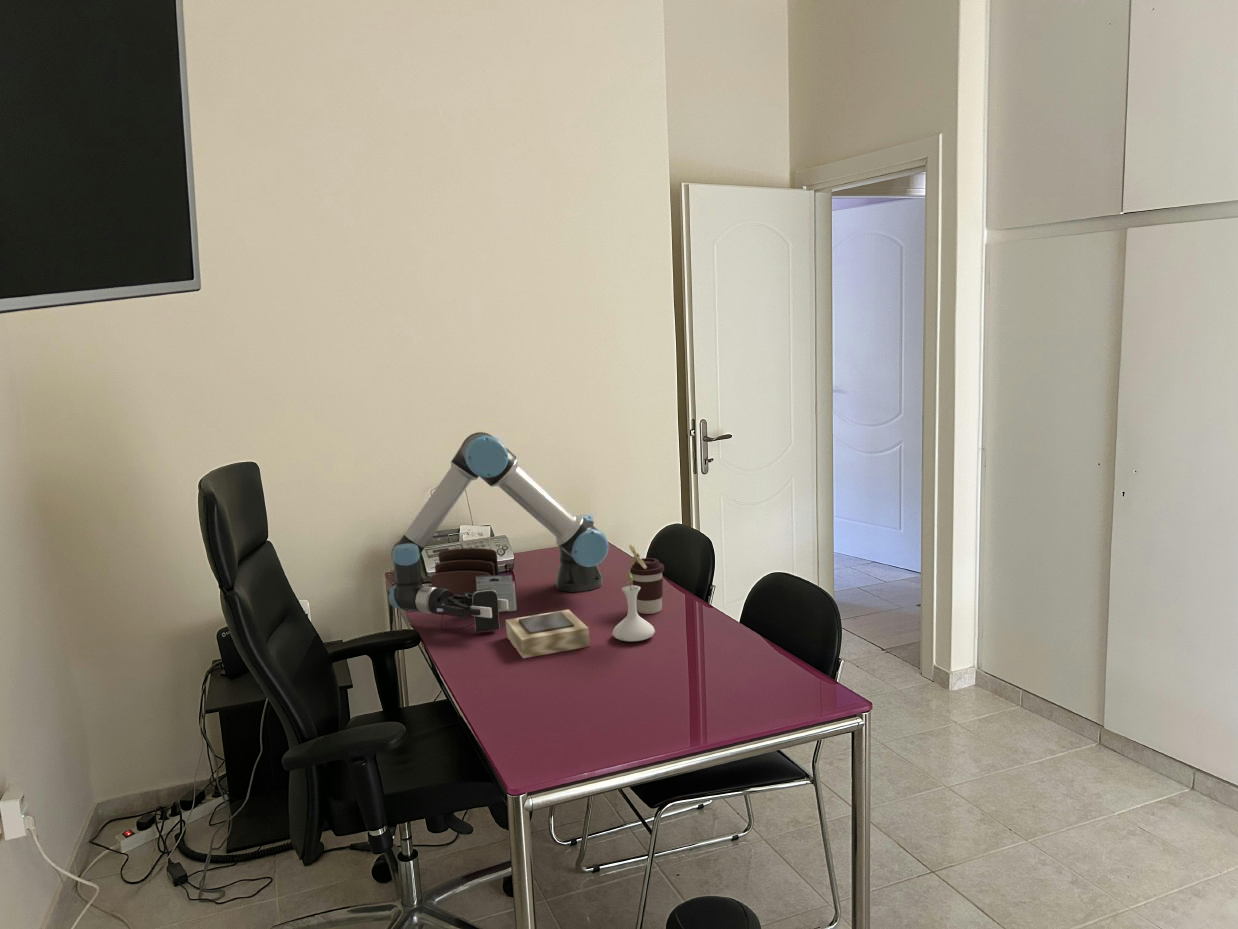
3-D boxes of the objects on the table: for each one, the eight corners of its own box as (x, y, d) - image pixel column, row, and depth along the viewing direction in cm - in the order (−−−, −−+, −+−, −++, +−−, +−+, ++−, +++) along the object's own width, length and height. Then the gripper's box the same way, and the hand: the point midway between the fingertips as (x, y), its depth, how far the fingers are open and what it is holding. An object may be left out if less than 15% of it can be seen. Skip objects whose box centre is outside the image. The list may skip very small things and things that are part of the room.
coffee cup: (627, 614, 263) (624, 564, 261) (639, 604, 272) (636, 555, 270) (659, 617, 259) (656, 566, 257) (670, 606, 268) (668, 557, 266)
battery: (498, 625, 257) (495, 586, 256) (500, 629, 254) (497, 590, 252) (474, 629, 256) (470, 589, 254) (475, 633, 252) (472, 593, 251)
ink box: (517, 609, 275) (514, 572, 273) (515, 612, 272) (512, 574, 270) (479, 610, 276) (476, 573, 274) (477, 613, 273) (474, 575, 272)
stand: (569, 626, 256) (568, 607, 255) (589, 646, 239) (588, 625, 238) (506, 637, 250) (505, 617, 249) (523, 658, 233) (521, 637, 232)
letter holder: (442, 589, 301) (438, 548, 299) (500, 588, 299) (497, 546, 297) (432, 598, 292) (428, 556, 290) (492, 597, 289) (488, 554, 287)
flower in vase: (651, 645, 237) (646, 552, 233) (608, 645, 239) (602, 552, 235) (659, 629, 249) (654, 540, 246) (618, 628, 252) (613, 540, 248)
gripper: (458, 603, 272) (521, 611, 260) (413, 624, 255) (478, 633, 243) (456, 579, 271) (519, 585, 259) (410, 598, 254) (475, 606, 242)
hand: (499, 608), depth 251 cm, fingers closed on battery, 7 cm apart
